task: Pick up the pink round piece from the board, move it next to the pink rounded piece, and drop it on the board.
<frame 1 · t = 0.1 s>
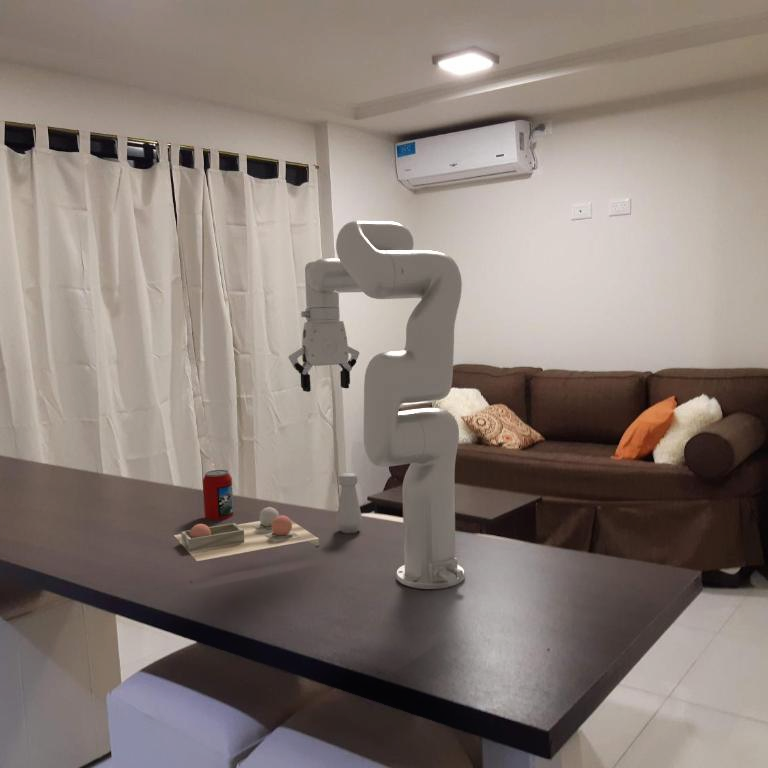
hand: (326, 389, 179), 31 cm above the counter, tool pointing down, fingers open, 9 cm apart
grey ball: (269, 526, 173), point 2 cm above the counter, touching board
pink rounded piece: (200, 544, 162), point 1 cm above the counter, touching board
board: (245, 543, 166), on the counter
beverage can: (219, 522, 184), on the counter
salt shaker: (349, 531, 173), on the counter
pink round piece: (282, 535, 166), point 2 cm above the counter, touching board
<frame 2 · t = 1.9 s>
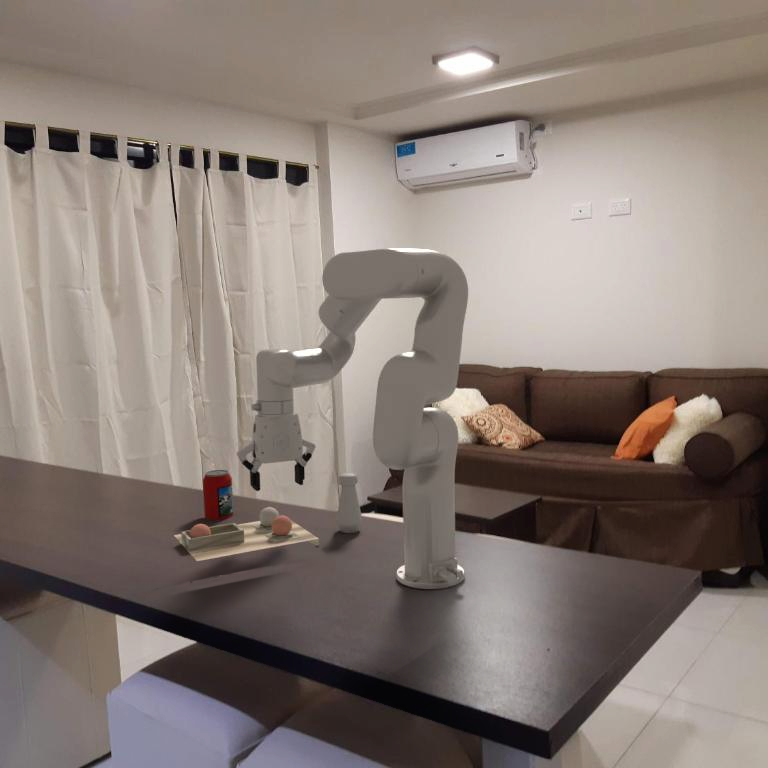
hand: (277, 486, 165), 12 cm above the counter, tool pointing down, fingers open, 9 cm apart
nothing on the counter moved.
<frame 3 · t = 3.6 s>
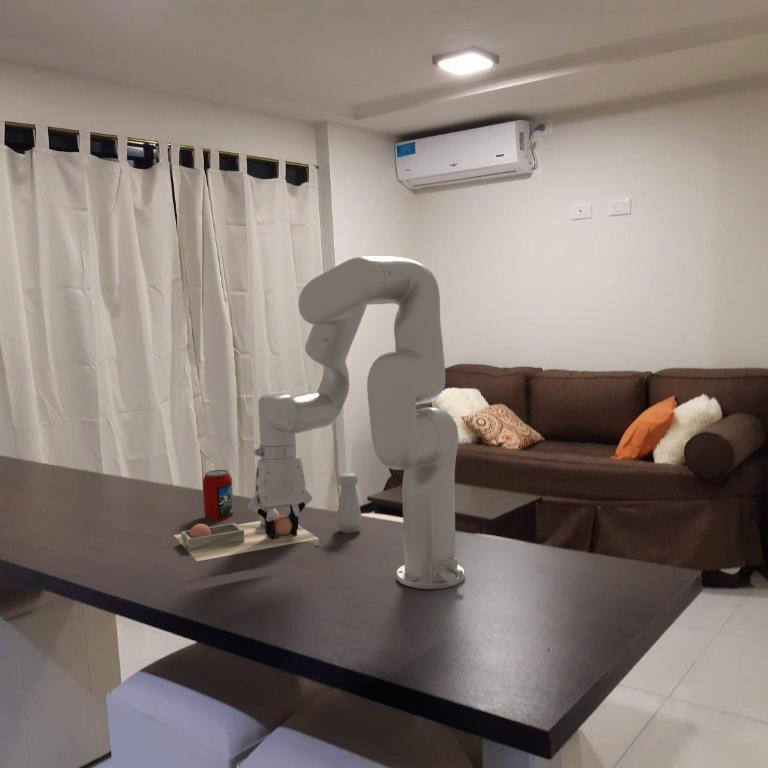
hand: (282, 534, 166), 2 cm above the counter, tool pointing down, fingers closed on pink round piece, 4 cm apart
pink round piece: (282, 535, 166), point 2 cm above the counter, touching board, gripper
everything else where it was.
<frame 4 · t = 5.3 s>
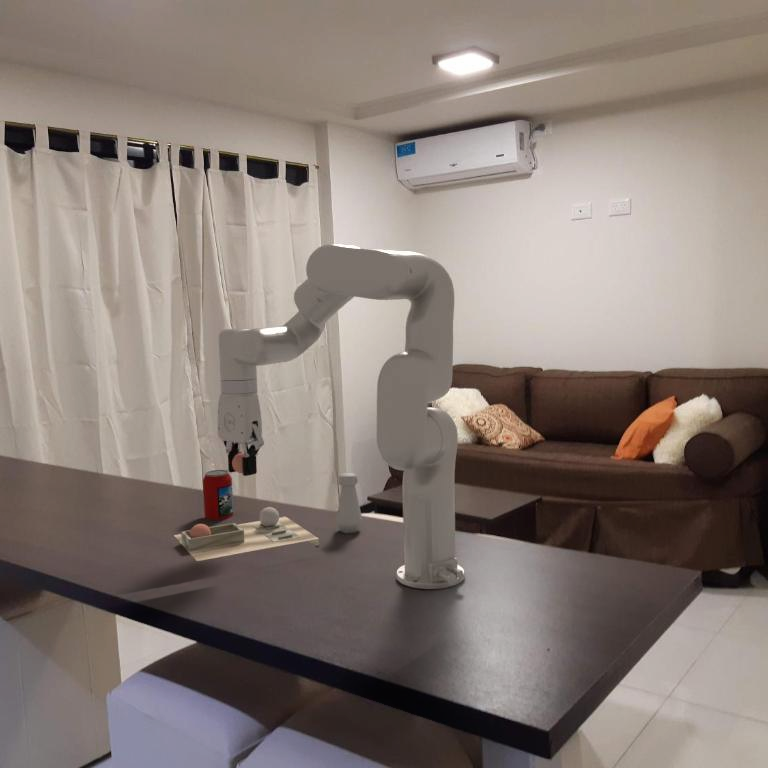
hand: (242, 472, 163), 16 cm above the counter, tool pointing down, fingers closed on pink round piece, 4 cm apart
pink round piece: (243, 473, 163), point 16 cm above the counter, touching gripper
everything else where it was.
when the fingers open (5 cm above the counter, at t = 7.1 s): pink round piece drops 3 cm, resting on board.
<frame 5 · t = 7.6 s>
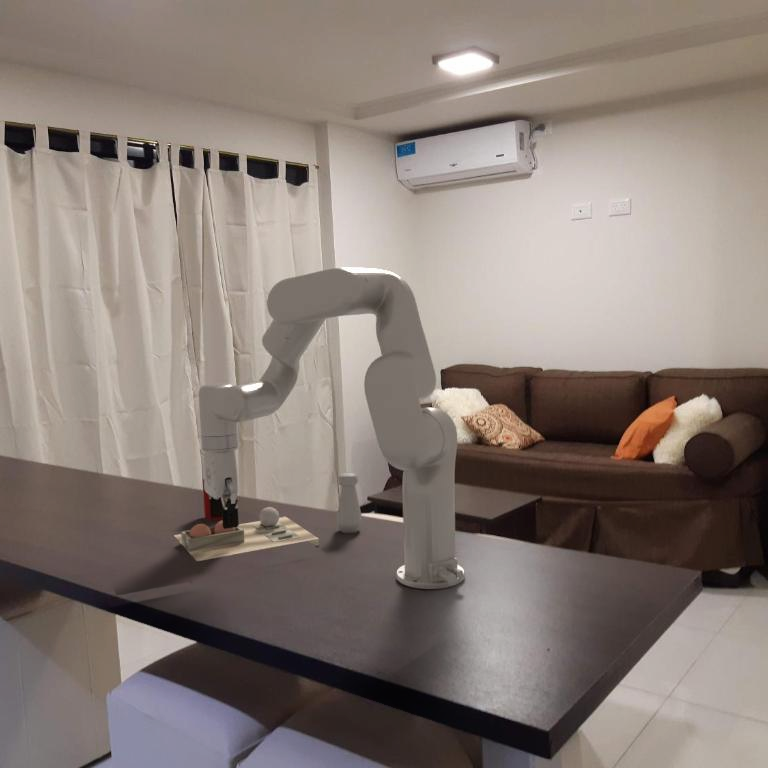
hand: (224, 521, 164), 6 cm above the counter, tool pointing down, fingers open, 9 cm apart
pink round piece: (225, 540, 164), point 1 cm above the counter, touching board
everything else where it was.
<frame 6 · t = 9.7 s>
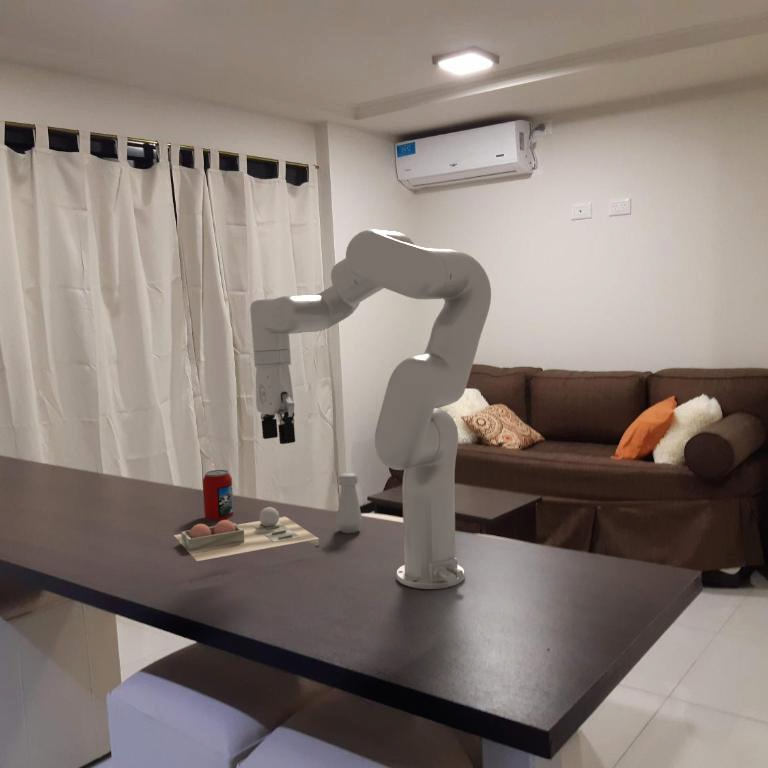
hand: (278, 440, 161), 23 cm above the counter, tool pointing down, fingers open, 9 cm apart
nothing on the counter moved.
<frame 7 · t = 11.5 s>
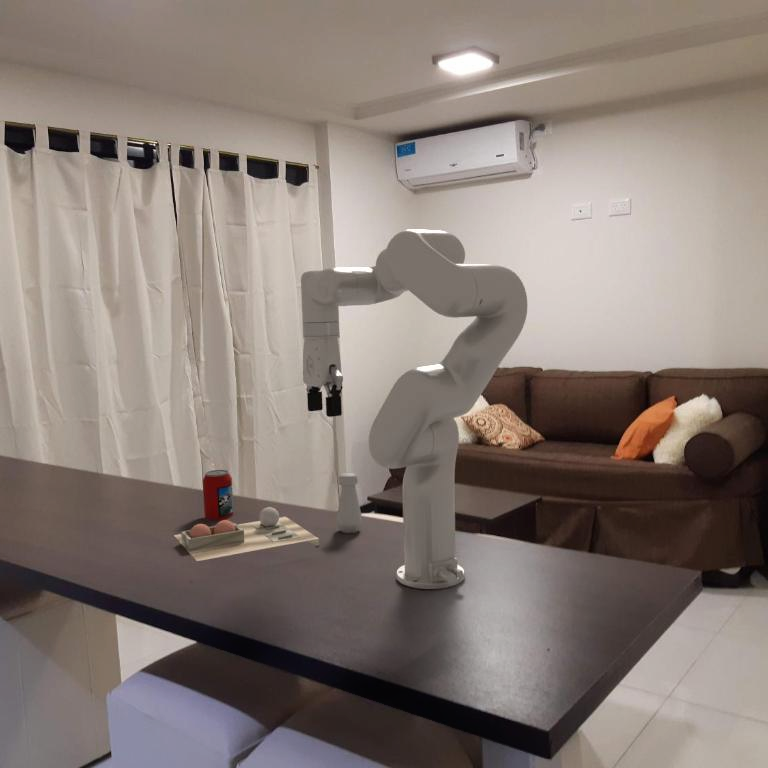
hand: (324, 413, 160), 28 cm above the counter, tool pointing down, fingers open, 9 cm apart
nothing on the counter moved.
at the end: pink round piece inside the target area on the board (2.6 cm from its centre), point 1.5 cm above the board's base; pink round piece 5.2 cm from the pink rounded piece (horizontally); grey ball moved 0.1 cm from its start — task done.
